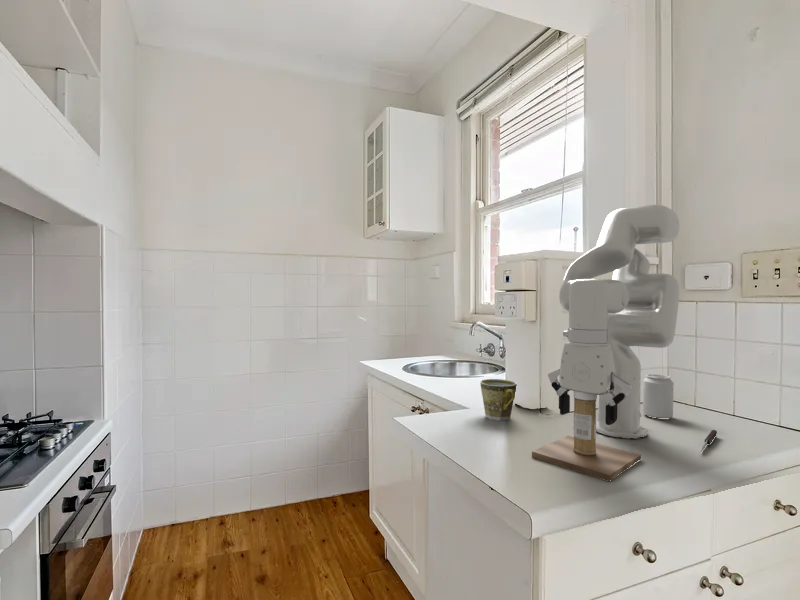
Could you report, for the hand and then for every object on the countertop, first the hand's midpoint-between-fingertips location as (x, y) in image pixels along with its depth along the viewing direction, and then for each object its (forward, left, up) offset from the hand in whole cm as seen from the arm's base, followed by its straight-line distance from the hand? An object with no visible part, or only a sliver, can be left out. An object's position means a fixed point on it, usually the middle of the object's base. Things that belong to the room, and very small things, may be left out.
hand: (586, 418), depth 90 cm
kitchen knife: (-30, +15, -9) cm, 35 cm away
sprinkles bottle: (0, 0, -7) cm, 8 cm away
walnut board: (0, 0, -8) cm, 8 cm away
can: (-48, -1, -9) cm, 49 cm away
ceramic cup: (-11, -29, -9) cm, 32 cm away
